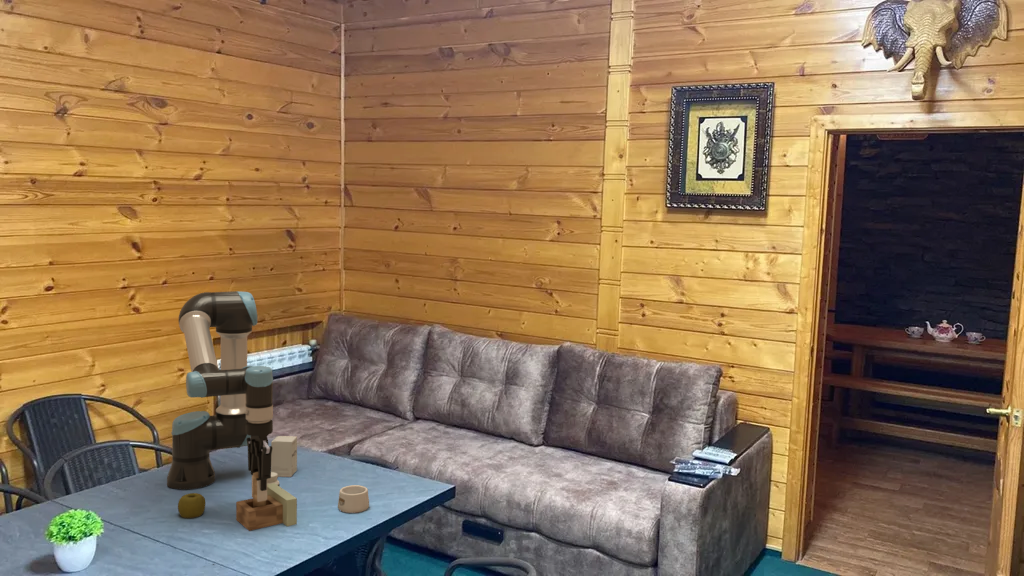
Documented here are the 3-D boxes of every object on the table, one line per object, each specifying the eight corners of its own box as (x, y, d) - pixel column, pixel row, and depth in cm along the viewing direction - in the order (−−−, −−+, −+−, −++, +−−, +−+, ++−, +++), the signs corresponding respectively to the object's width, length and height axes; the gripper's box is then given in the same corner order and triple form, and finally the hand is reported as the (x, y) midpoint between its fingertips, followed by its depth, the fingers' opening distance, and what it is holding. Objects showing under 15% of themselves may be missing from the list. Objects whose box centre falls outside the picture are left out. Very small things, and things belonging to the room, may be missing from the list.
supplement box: (291, 477, 277) (291, 441, 275) (270, 476, 277) (270, 441, 276) (297, 470, 284) (297, 435, 283) (276, 469, 284) (276, 435, 283)
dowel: (251, 512, 234) (251, 473, 233) (263, 510, 236) (263, 470, 235) (255, 516, 231) (255, 476, 230) (267, 513, 233) (267, 474, 232)
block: (236, 519, 234) (236, 501, 234) (269, 512, 241) (269, 494, 240) (249, 530, 227) (249, 512, 226) (282, 523, 233) (282, 504, 232)
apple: (189, 525, 233) (188, 501, 232) (172, 519, 237) (171, 496, 236) (211, 517, 239) (210, 494, 238) (194, 511, 243) (193, 489, 243)
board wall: (180, 532, 227) (180, 502, 226) (274, 511, 245) (274, 483, 244) (199, 552, 215) (198, 519, 214) (296, 528, 233) (296, 498, 232)
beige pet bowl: (375, 508, 250) (375, 490, 249) (348, 516, 243) (348, 497, 242) (354, 498, 258) (354, 480, 258) (327, 505, 252) (328, 487, 251)
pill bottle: (273, 509, 247) (273, 478, 246) (256, 507, 248) (256, 476, 247) (282, 502, 252) (282, 472, 252) (266, 501, 254) (266, 470, 253)
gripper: (235, 415, 235) (236, 493, 237) (257, 428, 222) (257, 509, 224) (260, 412, 240) (260, 488, 242) (283, 424, 227) (283, 504, 229)
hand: (259, 498), depth 233 cm, fingers closed on dowel, 3 cm apart
